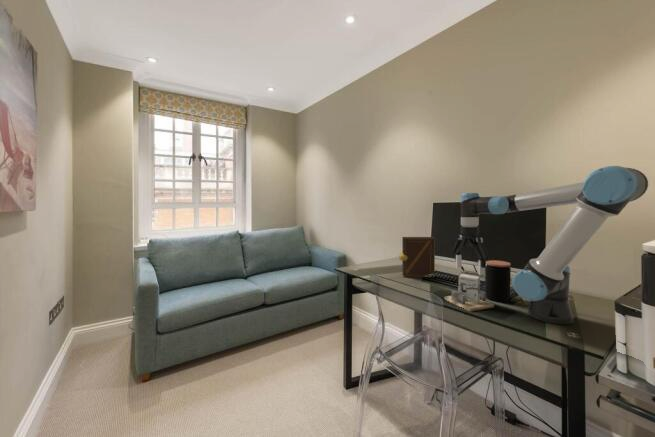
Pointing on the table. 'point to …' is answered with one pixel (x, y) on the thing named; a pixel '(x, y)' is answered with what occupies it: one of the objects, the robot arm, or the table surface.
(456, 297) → the clip stand
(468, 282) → the ink box
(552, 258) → the robot arm
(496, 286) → the coffee jar
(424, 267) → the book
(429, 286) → the table surface
